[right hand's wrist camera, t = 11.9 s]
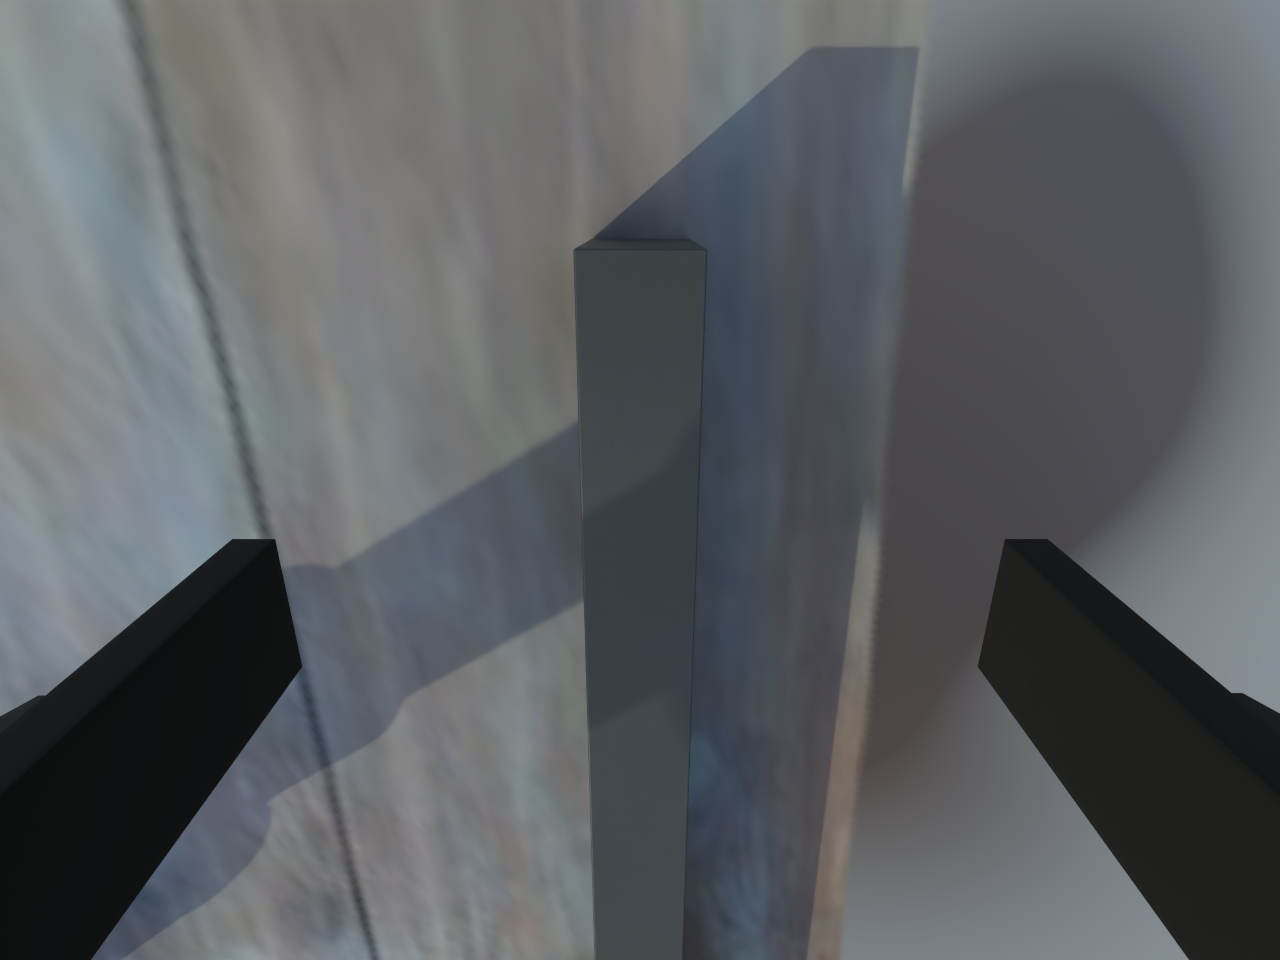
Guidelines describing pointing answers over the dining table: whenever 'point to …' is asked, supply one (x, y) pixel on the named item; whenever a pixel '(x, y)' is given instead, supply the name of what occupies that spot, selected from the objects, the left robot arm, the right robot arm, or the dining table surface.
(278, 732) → the dining table surface
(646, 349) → the post
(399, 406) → the dining table surface
